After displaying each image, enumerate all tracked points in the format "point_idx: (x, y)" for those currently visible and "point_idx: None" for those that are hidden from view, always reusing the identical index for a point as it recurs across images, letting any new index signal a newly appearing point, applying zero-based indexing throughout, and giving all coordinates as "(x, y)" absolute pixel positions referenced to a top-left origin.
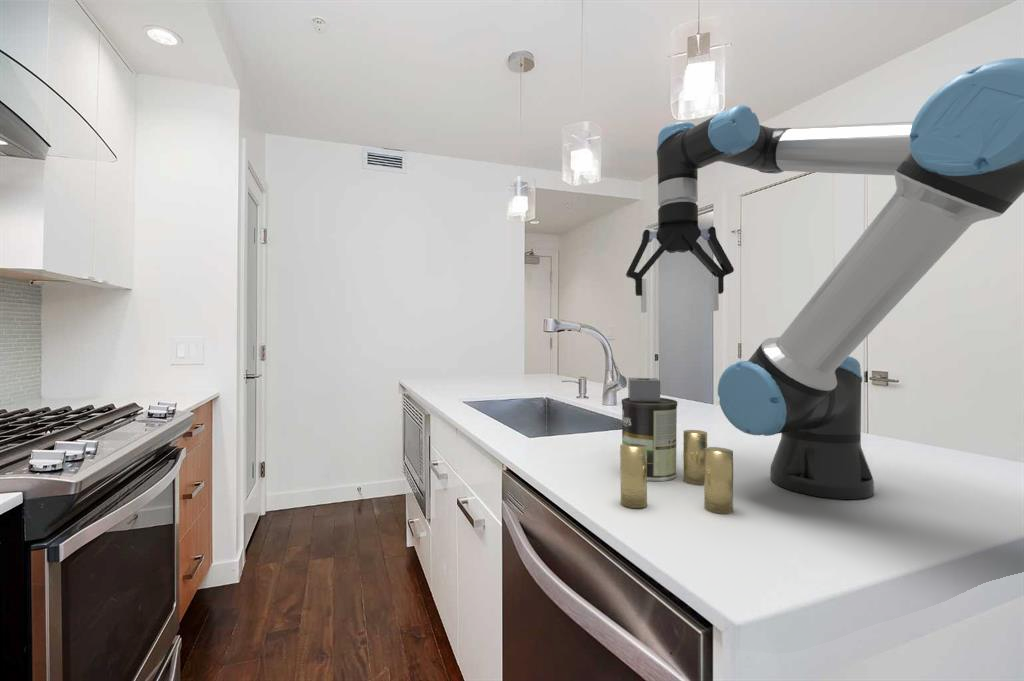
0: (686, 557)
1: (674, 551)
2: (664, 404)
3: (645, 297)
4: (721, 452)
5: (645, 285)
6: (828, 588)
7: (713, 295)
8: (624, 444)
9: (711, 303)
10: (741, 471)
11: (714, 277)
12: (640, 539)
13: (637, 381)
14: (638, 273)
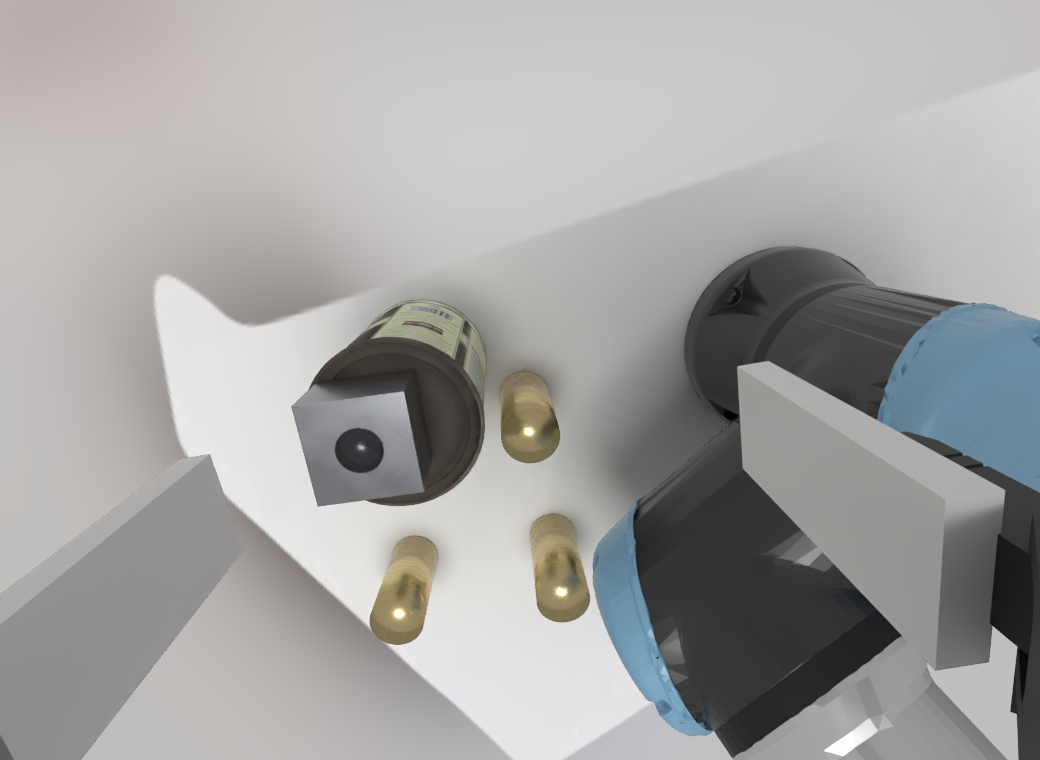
0: (496, 692)
1: (482, 682)
2: (446, 490)
3: (175, 630)
4: (566, 615)
5: (95, 733)
6: (631, 708)
7: (802, 506)
8: (376, 612)
9: (766, 410)
10: (637, 276)
11: (933, 665)
12: (439, 666)
13: (345, 500)
14: None
